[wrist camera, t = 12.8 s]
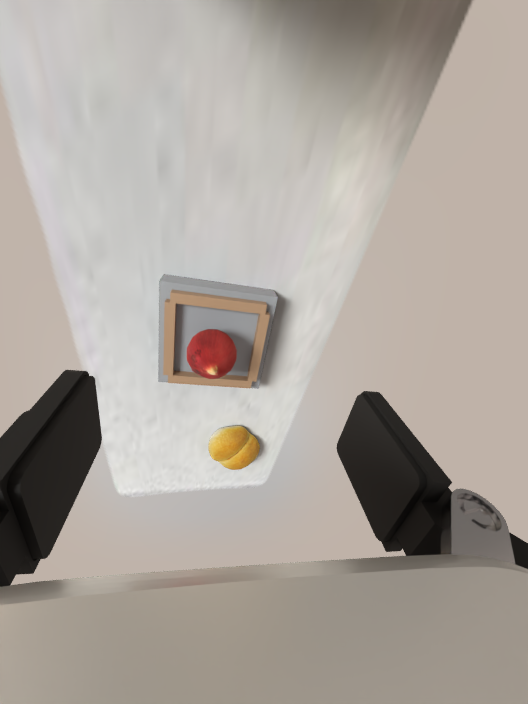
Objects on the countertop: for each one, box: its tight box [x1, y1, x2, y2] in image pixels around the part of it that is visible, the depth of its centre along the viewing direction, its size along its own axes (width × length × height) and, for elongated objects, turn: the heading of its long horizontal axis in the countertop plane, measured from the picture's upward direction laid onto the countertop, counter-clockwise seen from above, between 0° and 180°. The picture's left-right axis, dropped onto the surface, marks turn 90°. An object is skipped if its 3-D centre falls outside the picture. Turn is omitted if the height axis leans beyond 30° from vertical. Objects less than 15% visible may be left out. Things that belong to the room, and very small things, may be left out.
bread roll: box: [209, 425, 260, 470], centre depth 49 cm, size 8×9×4 cm
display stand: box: [158, 274, 278, 388], centre depth 37 cm, size 14×14×4 cm
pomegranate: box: [187, 329, 237, 379], centre depth 33 cm, size 6×6×8 cm
